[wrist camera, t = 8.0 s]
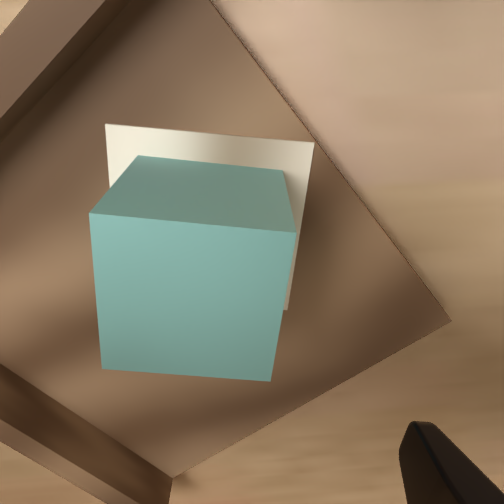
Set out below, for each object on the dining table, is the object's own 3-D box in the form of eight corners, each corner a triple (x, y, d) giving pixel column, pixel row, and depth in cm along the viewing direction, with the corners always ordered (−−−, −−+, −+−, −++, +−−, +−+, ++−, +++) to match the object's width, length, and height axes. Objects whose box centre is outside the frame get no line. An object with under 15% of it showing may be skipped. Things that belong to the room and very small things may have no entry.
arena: (-152, 266, 17) (-224, 310, 15) (148, -82, 12) (119, -111, 9) (160, 473, 24) (149, 528, 21) (443, 309, 19) (475, 357, 16)
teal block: (140, 278, 17) (102, 368, 12) (137, 154, 14) (88, 213, 10) (265, 289, 17) (270, 381, 13) (282, 170, 15) (296, 233, 10)
